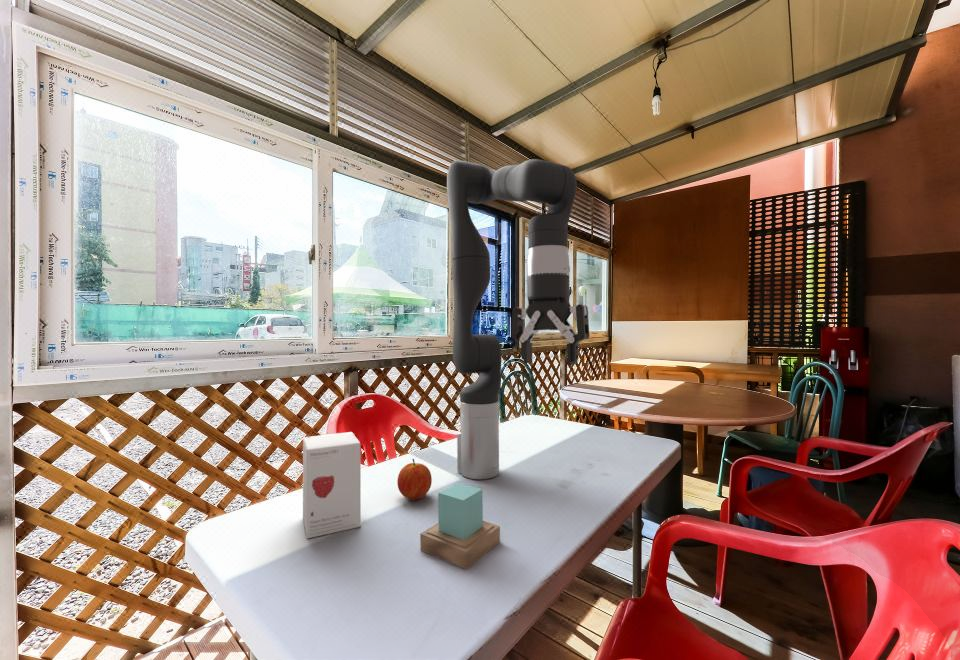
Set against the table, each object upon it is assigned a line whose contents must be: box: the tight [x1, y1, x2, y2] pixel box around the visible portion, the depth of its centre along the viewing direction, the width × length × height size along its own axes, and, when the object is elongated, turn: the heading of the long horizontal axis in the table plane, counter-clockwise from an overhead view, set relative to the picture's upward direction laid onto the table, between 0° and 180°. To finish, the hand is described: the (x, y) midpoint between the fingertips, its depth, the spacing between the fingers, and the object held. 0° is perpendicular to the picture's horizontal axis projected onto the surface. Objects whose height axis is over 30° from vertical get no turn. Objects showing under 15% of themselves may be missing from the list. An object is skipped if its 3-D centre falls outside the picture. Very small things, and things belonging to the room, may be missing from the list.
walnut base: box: [419, 520, 501, 570], centre depth 63 cm, size 9×9×3 cm
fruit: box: [396, 458, 433, 501], centre depth 81 cm, size 7×7×8 cm
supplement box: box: [302, 431, 362, 539], centre depth 71 cm, size 9×9×15 cm
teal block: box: [437, 482, 484, 540], centre depth 63 cm, size 5×5×6 cm
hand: (548, 363), depth 71 cm, fingers open, 8 cm apart
